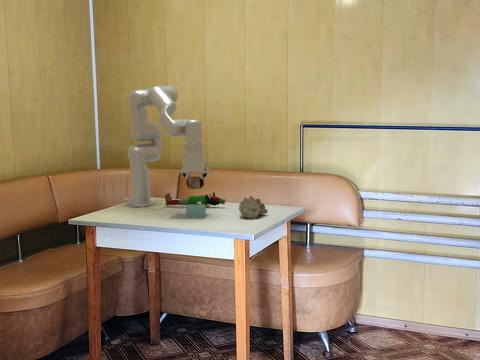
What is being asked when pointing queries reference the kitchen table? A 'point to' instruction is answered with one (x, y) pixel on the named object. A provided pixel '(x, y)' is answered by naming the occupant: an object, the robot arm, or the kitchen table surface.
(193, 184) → the walnut block
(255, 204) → the seashell
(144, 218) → the kitchen table surface
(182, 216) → the build board
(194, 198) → the toy
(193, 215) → the teal brick
